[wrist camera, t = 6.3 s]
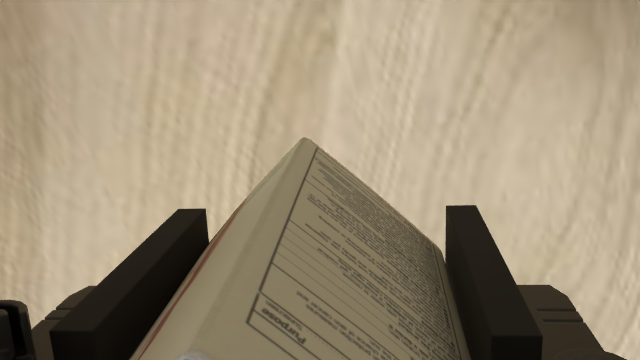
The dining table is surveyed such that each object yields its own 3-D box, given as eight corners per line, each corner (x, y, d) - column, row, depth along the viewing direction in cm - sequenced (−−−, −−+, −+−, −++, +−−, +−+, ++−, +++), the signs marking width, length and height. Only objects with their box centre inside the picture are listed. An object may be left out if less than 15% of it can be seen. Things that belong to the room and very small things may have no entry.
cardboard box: (204, 244, 16) (-47, 566, 7) (306, 129, 15) (178, 318, 6) (343, 361, 17) (294, 812, 7) (452, 257, 16) (564, 631, 6)
